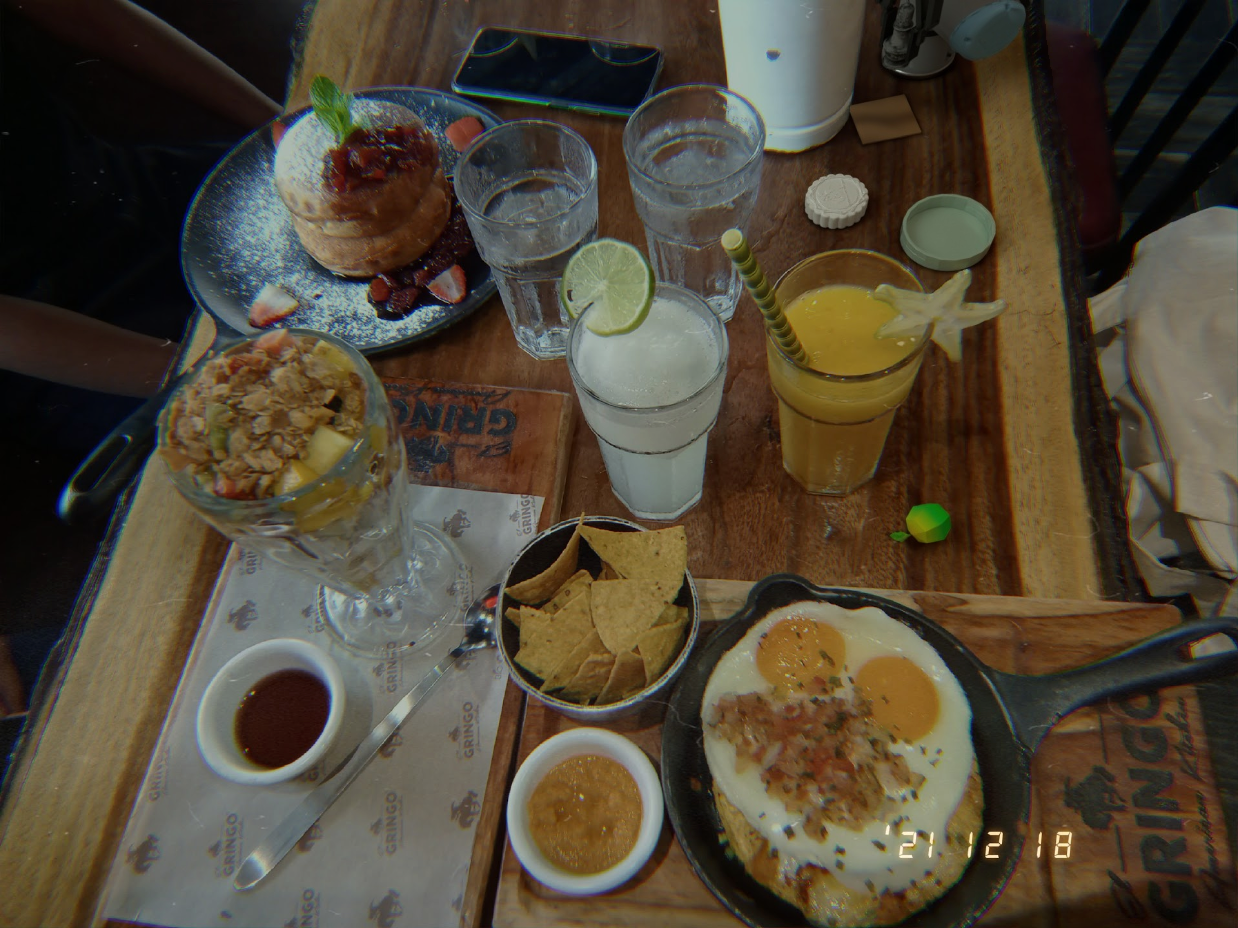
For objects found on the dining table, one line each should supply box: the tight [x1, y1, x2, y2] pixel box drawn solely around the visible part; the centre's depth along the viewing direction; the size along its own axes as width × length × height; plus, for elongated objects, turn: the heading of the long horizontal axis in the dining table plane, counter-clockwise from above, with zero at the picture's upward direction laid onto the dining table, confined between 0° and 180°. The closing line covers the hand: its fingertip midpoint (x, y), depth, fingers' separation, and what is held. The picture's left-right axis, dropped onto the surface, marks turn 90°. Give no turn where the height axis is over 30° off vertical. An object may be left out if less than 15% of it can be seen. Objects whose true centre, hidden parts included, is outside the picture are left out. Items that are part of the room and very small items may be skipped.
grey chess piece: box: [881, 0, 915, 70], centre depth 137 cm, size 6×6×12 cm
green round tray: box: [899, 193, 997, 272], centre depth 138 cm, size 16×16×3 cm
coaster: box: [849, 93, 922, 146], centre depth 154 cm, size 12×12×1 cm
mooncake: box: [804, 173, 869, 230], centre depth 144 cm, size 12×12×4 cm
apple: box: [889, 502, 952, 544], centre depth 112 cm, size 7×6×9 cm
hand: (898, 51), depth 141 cm, fingers closed on grey chess piece, 6 cm apart
